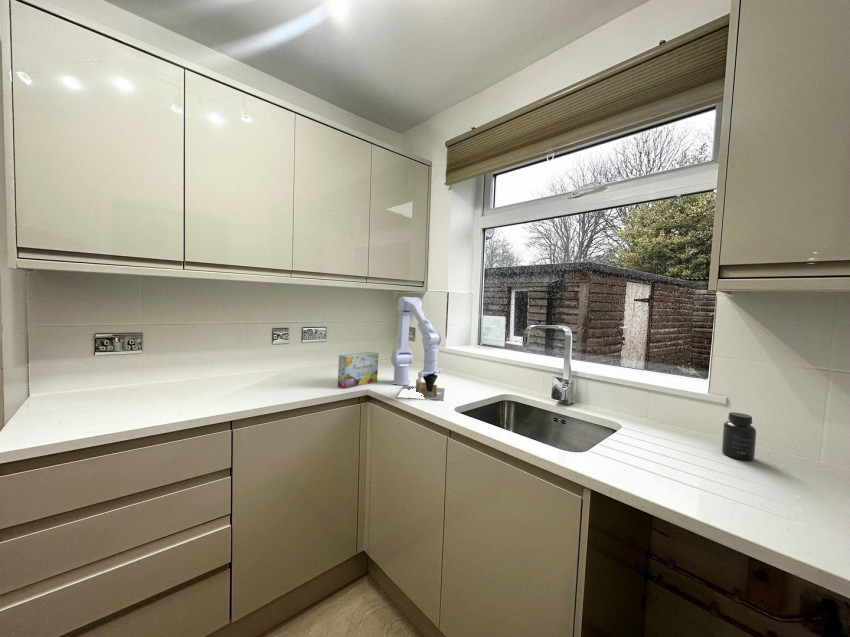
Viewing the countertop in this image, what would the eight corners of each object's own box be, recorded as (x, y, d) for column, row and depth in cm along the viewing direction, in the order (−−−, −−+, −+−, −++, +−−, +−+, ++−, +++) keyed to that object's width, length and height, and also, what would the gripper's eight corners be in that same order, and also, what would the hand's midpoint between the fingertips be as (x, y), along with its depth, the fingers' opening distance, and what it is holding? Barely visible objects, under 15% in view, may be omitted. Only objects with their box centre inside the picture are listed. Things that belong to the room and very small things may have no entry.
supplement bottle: (718, 449, 101) (721, 409, 100) (749, 455, 97) (752, 413, 97) (724, 457, 95) (728, 415, 94) (758, 464, 91) (761, 420, 91)
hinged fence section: (418, 391, 151) (418, 381, 151) (419, 391, 152) (420, 381, 152) (435, 396, 145) (436, 385, 145) (437, 395, 146) (437, 385, 146)
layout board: (403, 386, 163) (403, 374, 163) (444, 389, 161) (445, 376, 161) (395, 397, 143) (396, 383, 143) (443, 400, 141) (443, 386, 141)
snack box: (345, 389, 155) (345, 356, 154) (337, 387, 158) (338, 354, 157) (378, 381, 171) (379, 352, 171) (370, 380, 175) (371, 351, 174)
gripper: (428, 363, 137) (426, 396, 138) (447, 359, 149) (446, 390, 149) (414, 361, 142) (413, 393, 142) (434, 357, 153) (433, 387, 154)
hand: (429, 391), depth 146 cm, fingers closed
